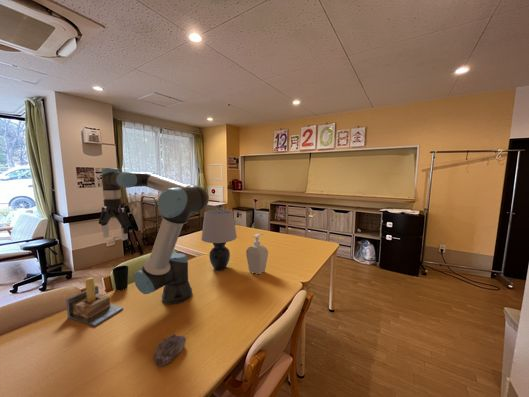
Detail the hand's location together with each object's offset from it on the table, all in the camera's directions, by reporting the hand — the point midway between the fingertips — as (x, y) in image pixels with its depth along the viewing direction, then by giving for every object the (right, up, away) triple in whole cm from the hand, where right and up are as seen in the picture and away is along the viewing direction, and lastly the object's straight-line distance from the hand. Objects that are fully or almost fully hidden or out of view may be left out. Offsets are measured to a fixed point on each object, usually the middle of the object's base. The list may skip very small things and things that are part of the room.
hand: (115, 238), depth 116 cm
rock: (+44, -36, -35) cm, 66 cm away
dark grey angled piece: (-1, -33, -12) cm, 35 cm away
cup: (-4, -31, +11) cm, 33 cm away
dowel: (-3, -30, -12) cm, 33 cm away
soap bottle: (+74, -29, +33) cm, 86 cm away
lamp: (+47, -28, +39) cm, 67 cm away
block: (-3, -32, -11) cm, 34 cm away
